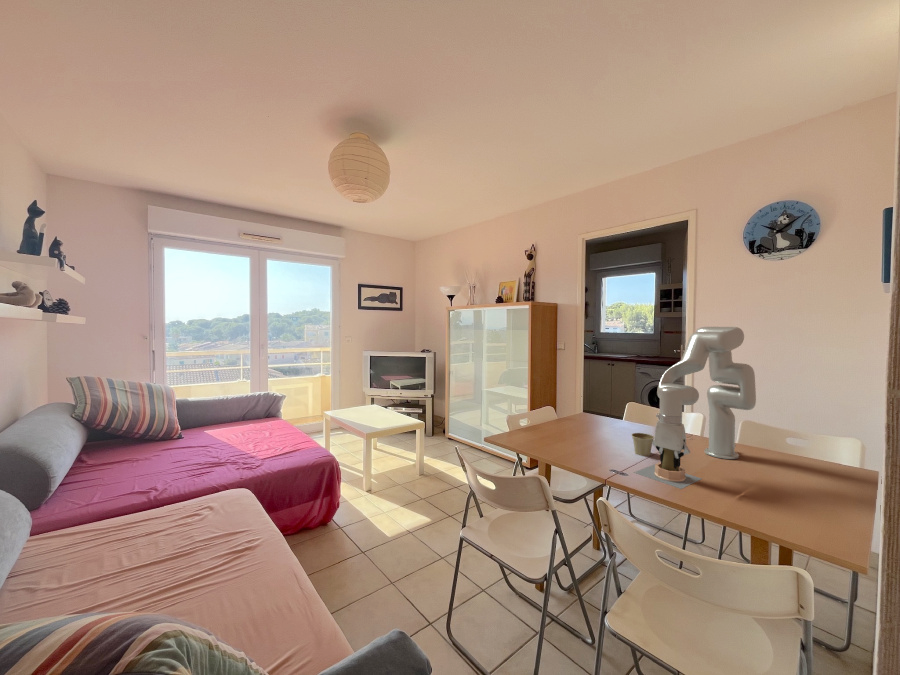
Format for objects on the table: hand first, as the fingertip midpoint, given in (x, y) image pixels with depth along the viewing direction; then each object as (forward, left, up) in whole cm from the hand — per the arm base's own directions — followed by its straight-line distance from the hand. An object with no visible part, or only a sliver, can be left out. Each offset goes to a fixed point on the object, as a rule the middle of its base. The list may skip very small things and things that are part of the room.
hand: (670, 465), depth 145 cm
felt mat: (0, -1, -5) cm, 5 cm away
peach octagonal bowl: (0, 0, -4) cm, 4 cm away
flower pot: (-16, -20, -5) cm, 26 cm away
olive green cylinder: (0, 0, -2) cm, 2 cm away
